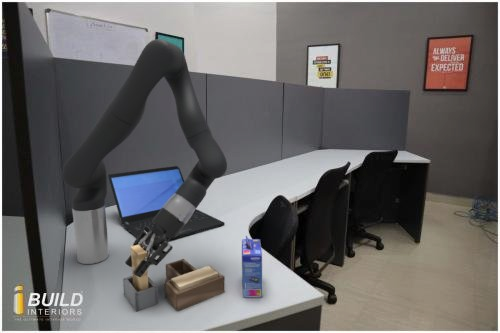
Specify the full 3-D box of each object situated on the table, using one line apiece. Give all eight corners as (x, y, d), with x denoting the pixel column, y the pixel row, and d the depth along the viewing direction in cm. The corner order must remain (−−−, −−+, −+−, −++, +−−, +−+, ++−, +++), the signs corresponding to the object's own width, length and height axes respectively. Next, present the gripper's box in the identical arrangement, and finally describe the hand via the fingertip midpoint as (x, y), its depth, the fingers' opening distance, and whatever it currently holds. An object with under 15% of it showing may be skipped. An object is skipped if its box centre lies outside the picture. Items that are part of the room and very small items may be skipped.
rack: (152, 283, 94) (151, 268, 93) (196, 268, 102) (195, 255, 101) (177, 311, 82) (177, 294, 81) (224, 292, 90) (224, 276, 89)
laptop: (147, 249, 115) (144, 194, 111) (110, 218, 143) (107, 174, 139) (225, 226, 136) (225, 179, 132) (180, 203, 164) (178, 164, 160)
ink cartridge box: (241, 278, 97) (241, 230, 94) (260, 277, 97) (261, 230, 94) (241, 298, 87) (242, 246, 84) (262, 298, 87) (264, 246, 84)
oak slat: (133, 289, 88) (130, 246, 85) (141, 286, 89) (138, 244, 86) (141, 299, 83) (138, 254, 81) (149, 296, 85) (146, 252, 82)
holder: (124, 294, 88) (123, 278, 87) (145, 287, 92) (144, 272, 91) (136, 311, 81) (135, 294, 80) (158, 303, 85) (157, 286, 84)
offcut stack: (170, 298, 87) (169, 279, 86) (209, 283, 94) (209, 265, 93) (179, 307, 83) (178, 287, 82) (219, 291, 90) (218, 273, 89)
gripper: (153, 200, 92) (111, 252, 87) (177, 214, 81) (130, 276, 76) (172, 214, 96) (133, 265, 91) (197, 230, 85) (154, 289, 80)
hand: (132, 270), depth 84 cm, fingers closed on oak slat, 5 cm apart
